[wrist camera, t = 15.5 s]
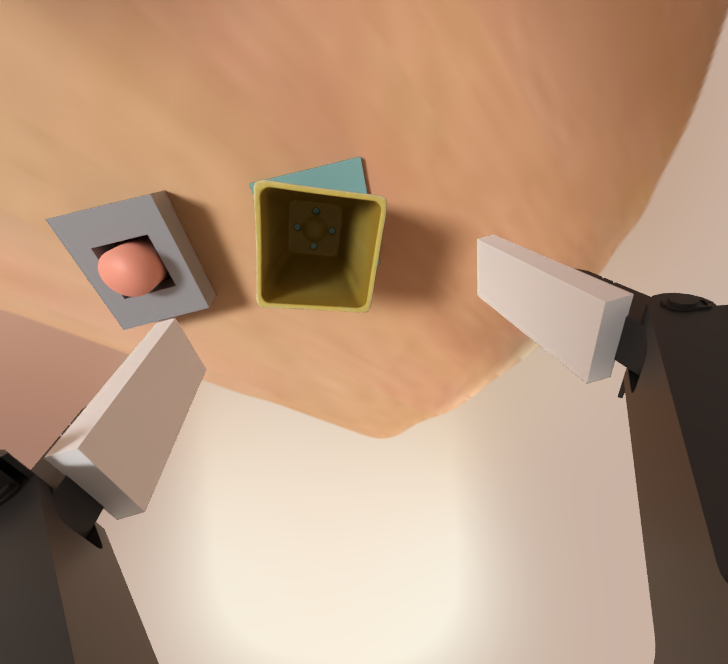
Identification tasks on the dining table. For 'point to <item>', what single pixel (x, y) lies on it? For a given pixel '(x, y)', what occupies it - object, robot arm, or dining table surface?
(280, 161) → the dining table surface
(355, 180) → the pad
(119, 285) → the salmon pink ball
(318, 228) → the flower pot
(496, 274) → the robot arm
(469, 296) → the dining table surface
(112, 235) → the housing
